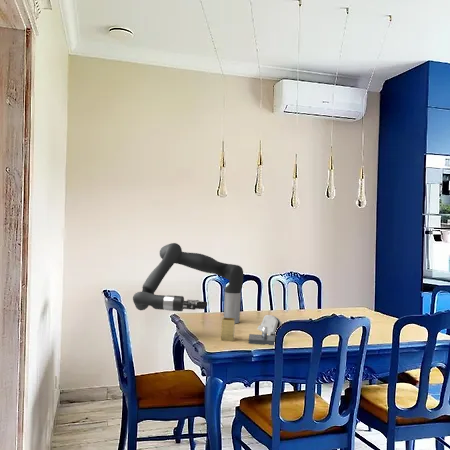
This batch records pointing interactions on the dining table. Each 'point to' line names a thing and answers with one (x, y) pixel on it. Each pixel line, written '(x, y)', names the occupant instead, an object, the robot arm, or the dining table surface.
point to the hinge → (270, 324)
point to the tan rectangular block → (227, 329)
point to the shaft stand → (262, 338)
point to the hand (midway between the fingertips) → (206, 305)
